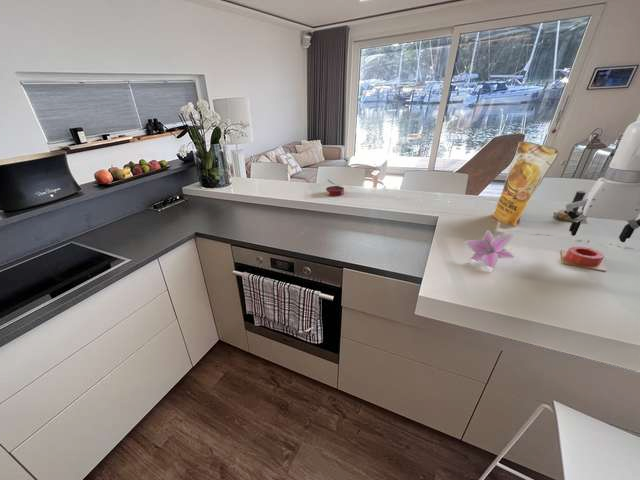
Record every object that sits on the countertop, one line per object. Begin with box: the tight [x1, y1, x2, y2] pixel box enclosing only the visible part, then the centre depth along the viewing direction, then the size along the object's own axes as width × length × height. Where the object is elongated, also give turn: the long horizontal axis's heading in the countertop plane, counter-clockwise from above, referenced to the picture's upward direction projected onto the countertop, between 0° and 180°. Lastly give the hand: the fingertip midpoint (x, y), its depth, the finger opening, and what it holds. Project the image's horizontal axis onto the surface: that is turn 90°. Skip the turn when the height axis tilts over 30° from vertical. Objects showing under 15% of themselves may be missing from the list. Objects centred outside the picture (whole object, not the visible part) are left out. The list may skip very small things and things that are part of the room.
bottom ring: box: [557, 208, 582, 222], centre depth 106 cm, size 7×7×2 cm
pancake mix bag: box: [492, 140, 559, 227], centre depth 105 cm, size 7×19×28 cm, turn 170°
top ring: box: [566, 246, 605, 266], centre depth 83 cm, size 7×7×2 cm
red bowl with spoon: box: [325, 178, 345, 197], centre depth 159 cm, size 11×10×10 cm
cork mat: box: [560, 249, 607, 272], centre depth 84 cm, size 9×9×1 cm
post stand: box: [553, 190, 588, 225], centre depth 105 cm, size 9×9×11 cm
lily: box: [464, 229, 515, 269], centre depth 86 cm, size 12×12×10 cm
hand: (596, 236), depth 80 cm, fingers open, 9 cm apart
